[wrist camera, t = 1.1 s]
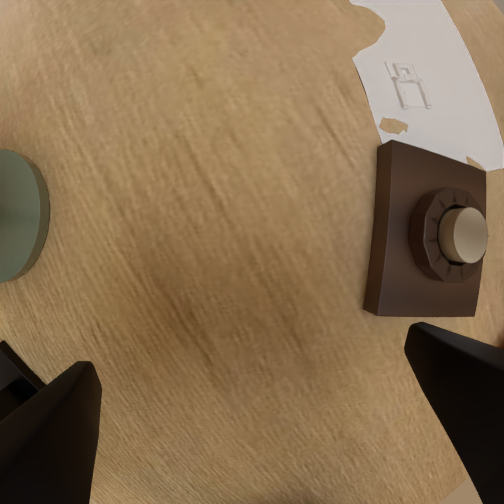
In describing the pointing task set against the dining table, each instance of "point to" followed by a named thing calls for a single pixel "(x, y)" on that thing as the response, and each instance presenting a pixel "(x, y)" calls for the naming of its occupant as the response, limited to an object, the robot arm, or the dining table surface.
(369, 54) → the white flat sheet
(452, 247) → the button
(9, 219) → the lamp
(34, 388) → the switch bracket
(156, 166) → the dining table surface
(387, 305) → the dimmer box
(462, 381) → the robot arm
